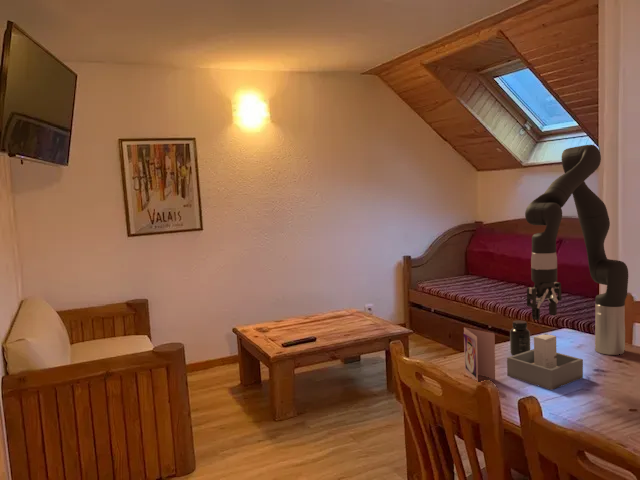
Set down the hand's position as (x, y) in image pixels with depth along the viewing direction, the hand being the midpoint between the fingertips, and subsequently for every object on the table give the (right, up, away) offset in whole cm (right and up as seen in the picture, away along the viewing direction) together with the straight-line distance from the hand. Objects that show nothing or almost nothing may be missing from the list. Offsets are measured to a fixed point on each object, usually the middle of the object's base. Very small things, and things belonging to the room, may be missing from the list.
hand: (544, 317), depth 170 cm
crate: (+1, -19, +2) cm, 19 cm away
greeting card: (-19, -20, +5) cm, 28 cm away
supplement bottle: (+2, -17, +25) cm, 30 cm away
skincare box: (+1, -19, +2) cm, 19 cm away
